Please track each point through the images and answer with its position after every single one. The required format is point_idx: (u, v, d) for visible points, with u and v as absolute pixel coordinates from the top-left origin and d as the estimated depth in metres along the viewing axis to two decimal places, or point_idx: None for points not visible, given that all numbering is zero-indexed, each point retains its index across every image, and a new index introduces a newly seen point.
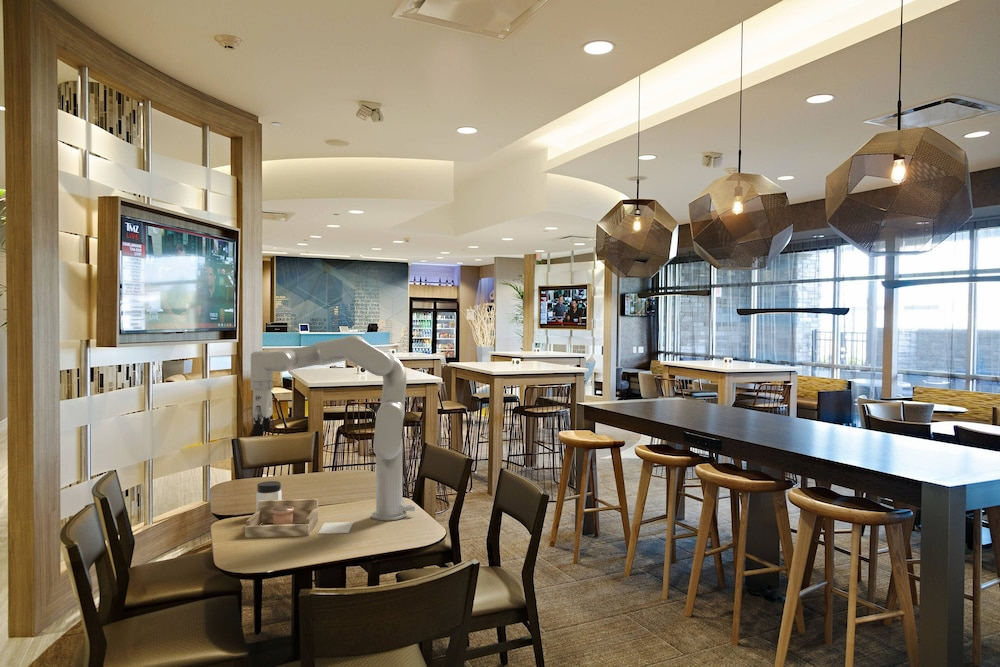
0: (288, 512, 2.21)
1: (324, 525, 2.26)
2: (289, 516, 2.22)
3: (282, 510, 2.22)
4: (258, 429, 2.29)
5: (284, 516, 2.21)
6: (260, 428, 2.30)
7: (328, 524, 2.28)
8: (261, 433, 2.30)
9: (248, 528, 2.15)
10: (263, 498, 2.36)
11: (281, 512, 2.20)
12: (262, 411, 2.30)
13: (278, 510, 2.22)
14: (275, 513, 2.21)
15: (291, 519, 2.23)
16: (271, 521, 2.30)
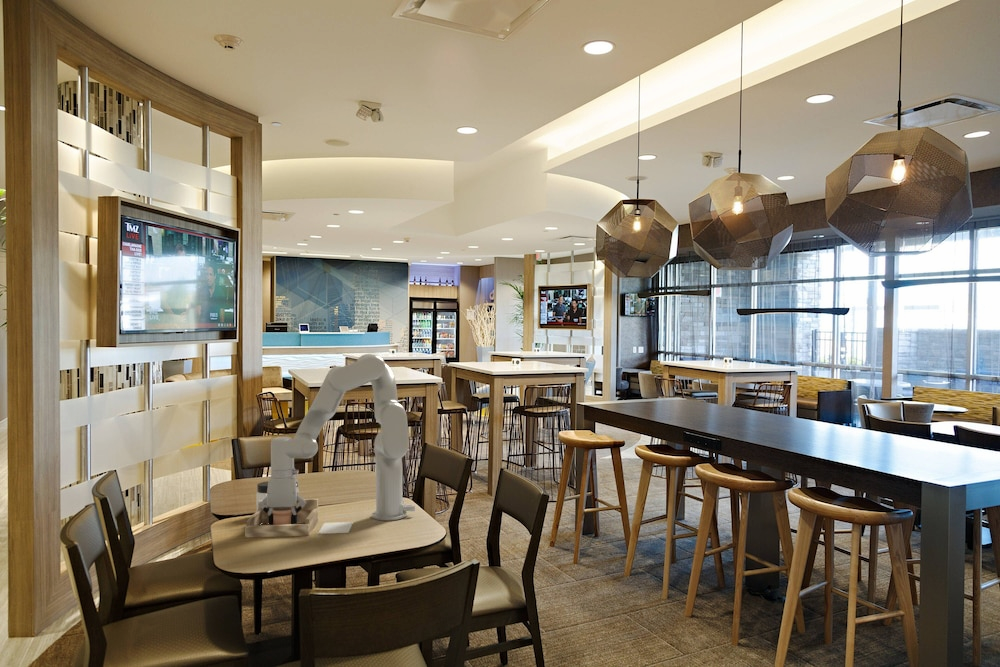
0: (288, 512, 2.21)
1: (324, 525, 2.26)
2: (289, 516, 2.22)
3: (282, 510, 2.22)
4: (296, 518, 2.24)
5: (284, 516, 2.21)
6: None
7: (328, 524, 2.28)
8: None
9: (248, 528, 2.15)
10: (263, 498, 2.36)
11: (281, 512, 2.20)
12: None
13: (278, 510, 2.22)
14: (275, 513, 2.21)
15: None
16: None
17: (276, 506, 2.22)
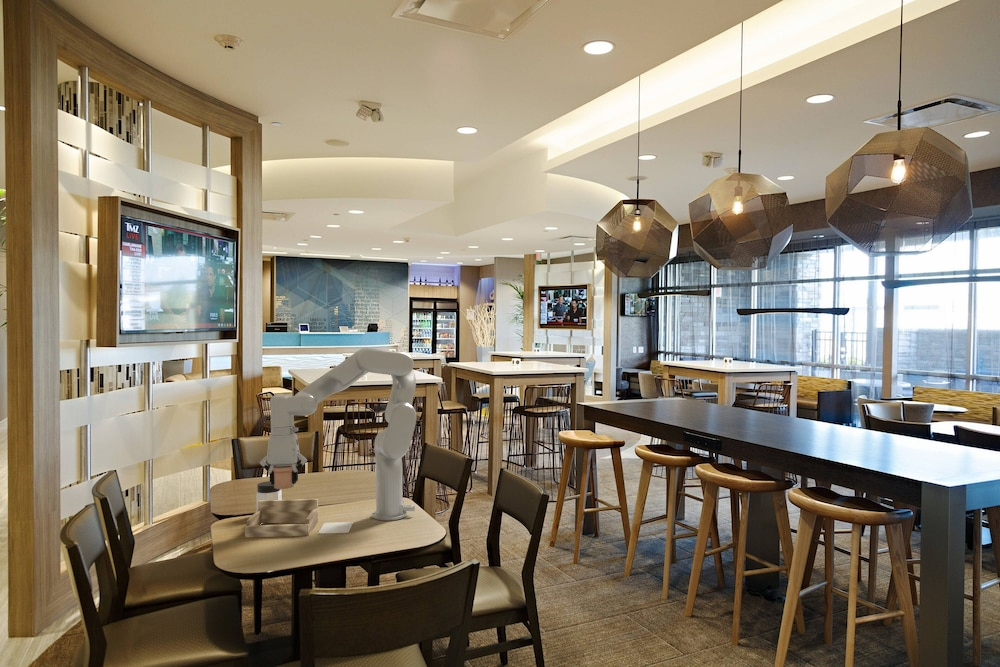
0: (289, 469, 2.22)
1: (324, 525, 2.26)
2: (290, 473, 2.22)
3: (283, 467, 2.22)
4: (297, 476, 2.25)
5: (285, 473, 2.21)
6: None
7: (328, 524, 2.28)
8: None
9: (248, 528, 2.15)
10: (263, 498, 2.36)
11: (282, 469, 2.21)
12: None
13: (279, 467, 2.22)
14: (276, 470, 2.21)
15: None
16: (271, 521, 2.30)
17: (277, 463, 2.22)
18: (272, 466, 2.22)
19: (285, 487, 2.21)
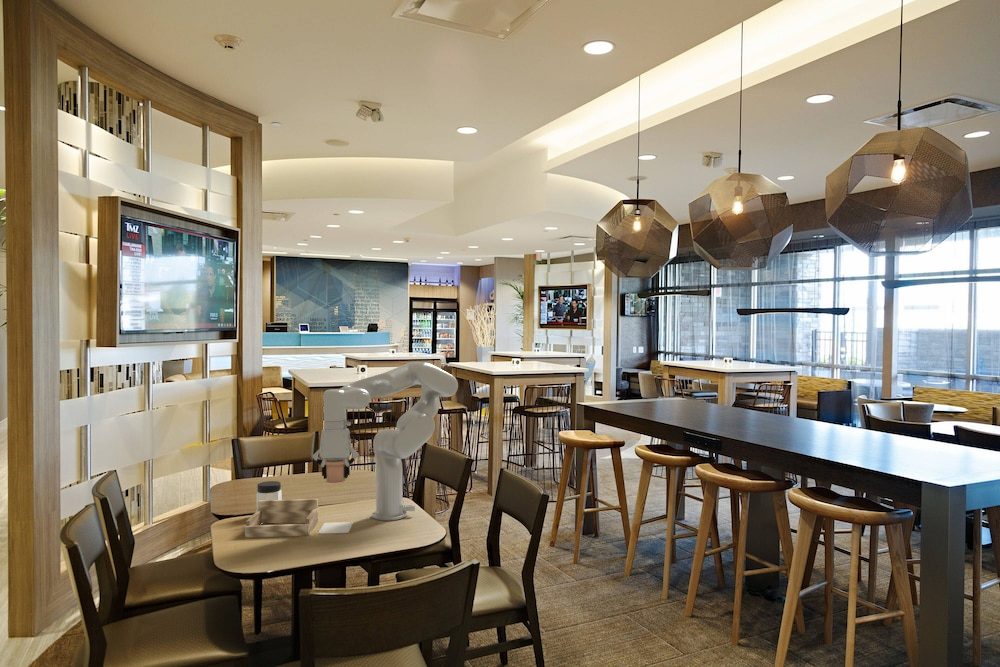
0: (341, 463, 2.22)
1: (324, 525, 2.26)
2: (342, 467, 2.23)
3: (335, 461, 2.22)
4: (349, 470, 2.25)
5: (337, 467, 2.22)
6: None
7: (328, 524, 2.28)
8: (347, 474, 2.26)
9: (248, 528, 2.15)
10: (263, 498, 2.36)
11: (335, 463, 2.21)
12: None
13: (331, 461, 2.22)
14: (329, 464, 2.21)
15: None
16: (271, 521, 2.30)
17: (329, 457, 2.22)
18: (325, 460, 2.23)
19: (337, 481, 2.22)
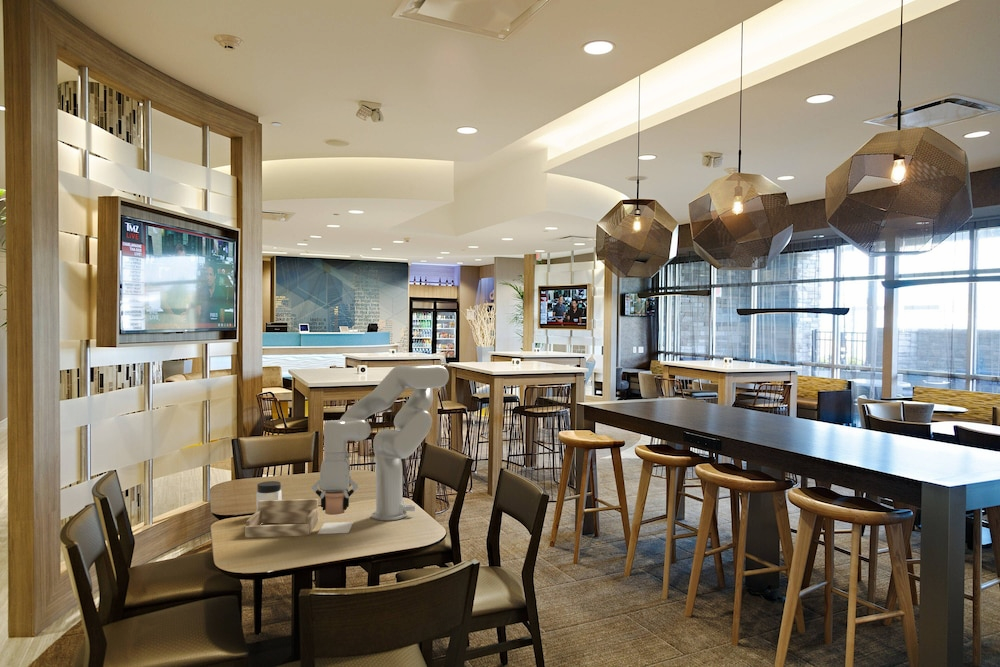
0: (341, 495, 2.22)
1: (324, 525, 2.26)
2: (341, 499, 2.22)
3: (335, 493, 2.22)
4: (348, 502, 2.25)
5: (337, 499, 2.21)
6: None
7: (328, 524, 2.28)
8: None
9: (248, 528, 2.15)
10: (263, 498, 2.36)
11: (334, 495, 2.21)
12: None
13: (331, 493, 2.22)
14: (328, 496, 2.21)
15: (343, 502, 2.23)
16: (271, 521, 2.30)
17: (329, 489, 2.22)
18: (324, 491, 2.23)
19: (336, 513, 2.21)
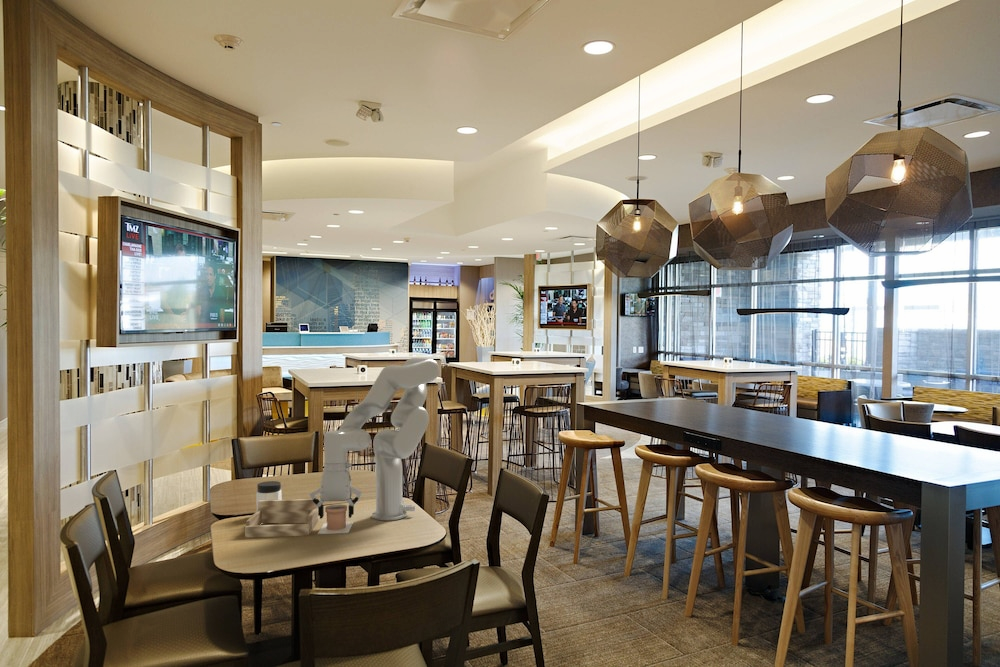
0: (342, 510, 2.22)
1: (324, 525, 2.26)
2: (343, 514, 2.23)
3: (336, 508, 2.22)
4: (353, 509, 2.25)
5: (338, 514, 2.22)
6: None
7: None
8: None
9: (248, 528, 2.15)
10: (263, 498, 2.36)
11: (335, 510, 2.21)
12: None
13: (332, 508, 2.22)
14: (329, 511, 2.21)
15: (344, 517, 2.24)
16: (271, 521, 2.30)
17: (330, 499, 2.22)
18: (322, 501, 2.23)
19: (338, 528, 2.22)
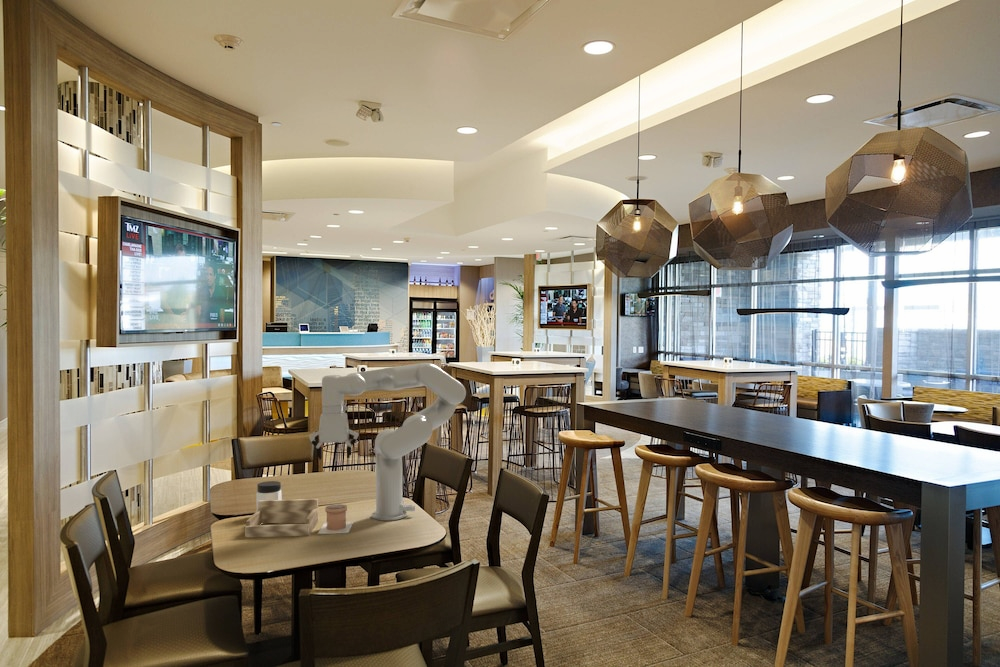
0: (342, 510, 2.22)
1: (324, 525, 2.26)
2: (343, 514, 2.23)
3: (336, 508, 2.22)
4: None
5: (338, 514, 2.22)
6: None
7: None
8: (349, 454, 2.35)
9: (248, 528, 2.15)
10: (263, 498, 2.36)
11: (335, 510, 2.21)
12: None
13: (332, 508, 2.22)
14: (329, 511, 2.21)
15: (344, 517, 2.24)
16: (271, 521, 2.30)
17: (329, 440, 2.31)
18: (321, 442, 2.31)
19: (338, 528, 2.22)
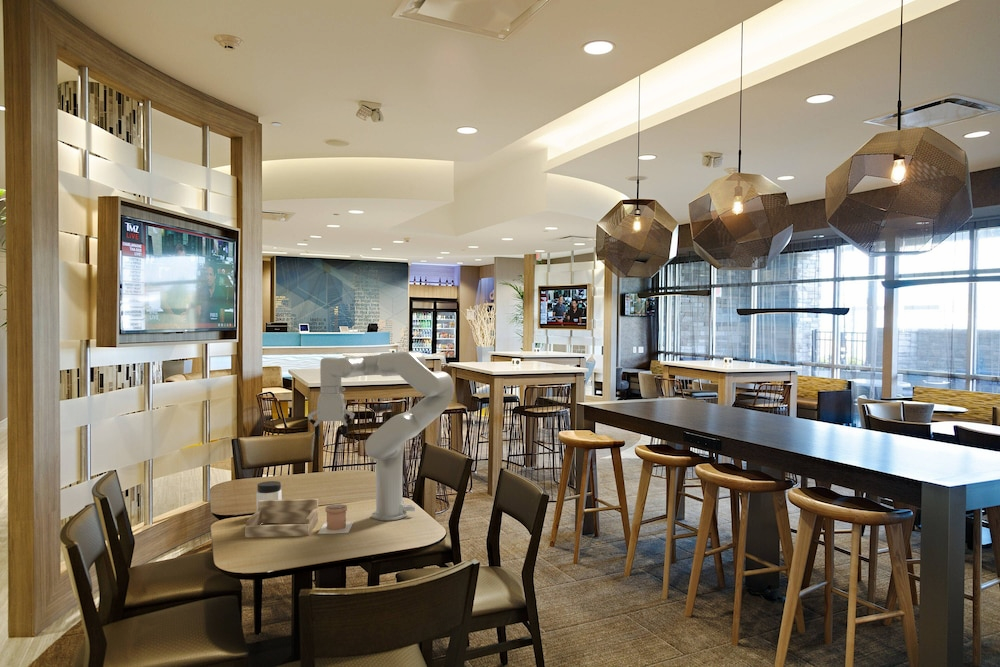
0: (342, 510, 2.22)
1: (324, 525, 2.26)
2: (343, 514, 2.23)
3: (336, 508, 2.22)
4: None
5: (338, 514, 2.22)
6: None
7: None
8: (345, 433, 2.46)
9: (248, 528, 2.15)
10: (263, 498, 2.36)
11: (335, 510, 2.21)
12: (345, 413, 2.47)
13: (332, 508, 2.22)
14: (329, 511, 2.21)
15: (344, 517, 2.24)
16: (271, 521, 2.30)
17: (325, 419, 2.43)
18: (318, 421, 2.43)
19: (338, 528, 2.22)
